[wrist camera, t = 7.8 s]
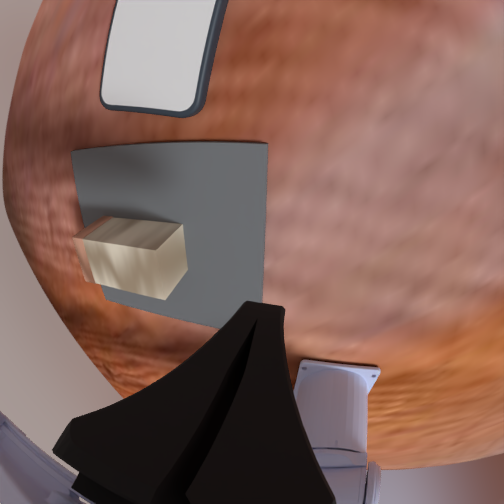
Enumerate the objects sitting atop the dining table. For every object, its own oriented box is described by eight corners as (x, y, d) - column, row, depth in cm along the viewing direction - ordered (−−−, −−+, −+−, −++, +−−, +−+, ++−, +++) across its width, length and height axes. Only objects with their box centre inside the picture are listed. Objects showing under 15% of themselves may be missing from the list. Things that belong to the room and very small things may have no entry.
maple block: (165, 301, 19) (85, 280, 21) (188, 269, 23) (112, 256, 24) (155, 250, 17) (72, 237, 19) (183, 223, 20) (103, 215, 22)
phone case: (207, 119, 17) (255, -72, 9) (197, 121, 16) (249, -82, 7) (109, 107, 18) (147, -60, 9) (95, 109, 17) (136, -66, 8)
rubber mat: (260, 332, 25) (259, 336, 24) (108, 296, 28) (105, 299, 28) (268, 143, 17) (266, 144, 16) (74, 150, 20) (70, 151, 20)
